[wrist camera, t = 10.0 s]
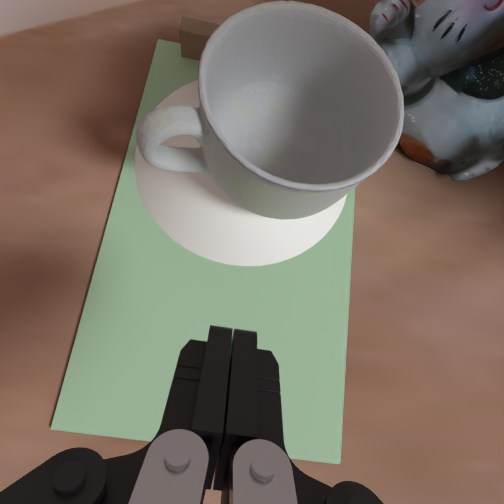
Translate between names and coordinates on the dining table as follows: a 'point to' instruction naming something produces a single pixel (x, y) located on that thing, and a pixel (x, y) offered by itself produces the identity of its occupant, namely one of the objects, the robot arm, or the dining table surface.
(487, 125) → the lucky cat figurine
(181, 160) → the teacup
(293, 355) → the putting green
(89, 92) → the dining table surface
